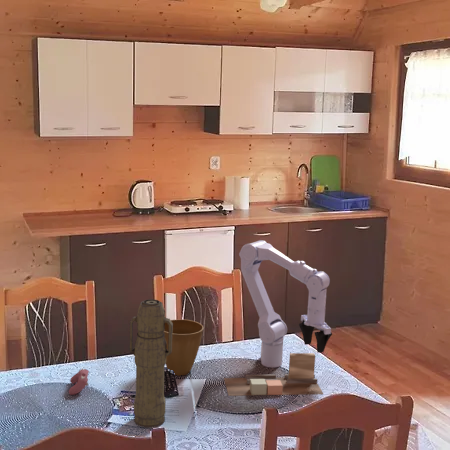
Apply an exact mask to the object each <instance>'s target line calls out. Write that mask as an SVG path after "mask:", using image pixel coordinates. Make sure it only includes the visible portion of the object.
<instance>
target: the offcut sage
mask: <svg viewBox="0 0 450 450" xmlns="http://www.w3.org/2000/svg"><path fill="white" fill-rule="evenodd" d="M266 391H267V383H266V381H265V379H250V392H251V395H250V396H267V395H266Z"/></svg>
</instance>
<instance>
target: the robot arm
mask: <svg viewBox="0 0 450 450" xmlns="http://www.w3.org/2000/svg"><path fill="white" fill-rule="evenodd" d="M238 255H239V258H240V271H241V274H242V277H243V279H244V281H245V284H246V287H247V289H248V291H249V294H250V296H251V299H252V302H253V305H254V307H255V309H256V312H257V314H258V317H259V319H258V323H257V328H258V337H259V339H260V341H261V347H260V359H261V360H260V361H261V362H260V363H261V365H262V366H264V367H267V368H279V367H281V366H282V365H283V355H284V354H283V353H284V337H286V335H287V333H288V327H287V324H286V323H285V322H284V320H282V317H281V315H280V314H278V313H277V312H275V310H274V307H273V304H272V302H271V300H270V297H269V295H268V293H267V290H266V288H265V285H264V283H263V279H262V277H261V275H260V271H259V268H260V266H261V264H262V262H263V261H271V262H273V263H275V264H277V265H278V266H280V267H283V269H286V270H288V273H289V275H290V276H291V277H293V279H296V280H298V281H300V282H301V283H302V284H304V285H306V288H307V291H308V300H307V314H301V316H300V321H301V322H300V323H299V324H298V326H299V328H300V330H301V334H302V337H303V342H304V345H305V346H306V345H311V344H312V338H313V334H314V336H315V339H316V352H317V353H318V354H319V353H324V352H325V348H326V346H327V344H328V341H329V340H330V338H331V337H332V335H333V332H332V327H330V326H329V325H328V324H327V322H325V318H326V305H327V304H326V302H327V288H328V287H329V286H330V282H331V279H330V276H329V275H328V274H327V273H326V272H325V271H322V270H320V271H318V269H316V268H313V267H311V266H309V265H307V264H306V261H304V260H296V261H294V260H292V259H291V258H289V257H288V256H287V255H285V254H284V253H282V252H281V251H279V250H278V249H276V248H275V247H273V245H272V244H271V243H269V242H268V243H267V241H266V240H264V239H263V240H262V239H258V240H257V241H254V242H251V243H246V244H244V245H243V246H241V249H240V251H239V253H238ZM315 329H317V330H318V331H314V330H315Z"/></svg>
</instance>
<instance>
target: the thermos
mask: <svg viewBox="0 0 450 450" xmlns="http://www.w3.org/2000/svg"><path fill="white" fill-rule="evenodd" d="M171 320H172V319H170V318H167V317H166V310H165V307H164V304H163V302H162V301H161V300H158V299H150V298H149V299H145V300H142V301H140V304H139V307H138V308H137V315H136V316H133V317H132V318H131V320H130V321H129V354H133V355H132V356H134V364H135V366H136V367H135V370H136V371H135V398H134V401H133V415H134V418H133V422H134V423H135V424H134V425H136V426H138V427H141V428H145V429H146V428H147V429H149V428H151V429H152V427H153V428H158V427H160V426H162V425H163V424H164V423H165V420H166V418H165V414H166V405H167V404H166V397H165V366H166V356H168V355H169V354H171V352H172V331H173V323H172V321H171ZM134 322H135V323H137V327H136V329H137V335H136V338H135V339H136V340H135V342H134V344H133V341H134V340H133V334H134V332H133V331H134V329H133V328H134V325H133V324H134ZM165 323H167V324H168V325H169V339H168V351H167V349H166V347H167V343H166V340H165V333H164V330H165ZM133 345H134V347H133Z"/></svg>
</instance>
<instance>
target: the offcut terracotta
mask: <svg viewBox="0 0 450 450" xmlns="http://www.w3.org/2000/svg"><path fill="white" fill-rule="evenodd" d="M266 383H267V391H266V392H267V395H266V396H283V395H282V389H283V385H282V383H281V381H280V380H266Z"/></svg>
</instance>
